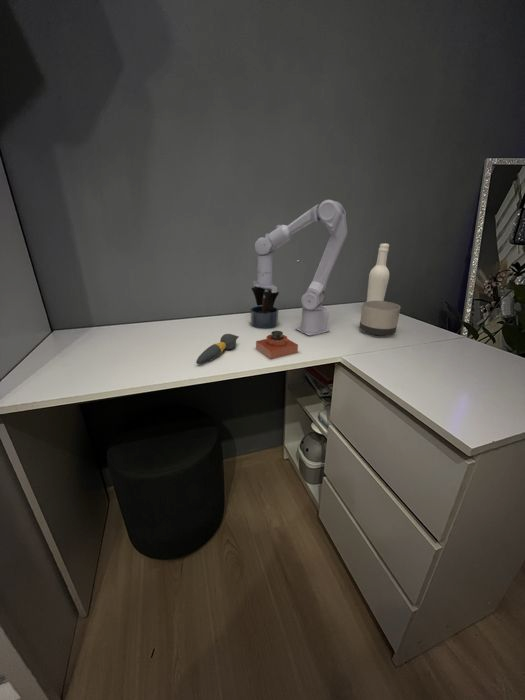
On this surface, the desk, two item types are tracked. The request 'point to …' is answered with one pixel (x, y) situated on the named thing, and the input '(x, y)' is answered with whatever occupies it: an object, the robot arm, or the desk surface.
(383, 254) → the bottle
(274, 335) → the pump button
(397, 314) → the planter
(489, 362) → the desk surface
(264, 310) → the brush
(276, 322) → the dark blue round bowl
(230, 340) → the paintbrush
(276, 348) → the knobbed square stamp
